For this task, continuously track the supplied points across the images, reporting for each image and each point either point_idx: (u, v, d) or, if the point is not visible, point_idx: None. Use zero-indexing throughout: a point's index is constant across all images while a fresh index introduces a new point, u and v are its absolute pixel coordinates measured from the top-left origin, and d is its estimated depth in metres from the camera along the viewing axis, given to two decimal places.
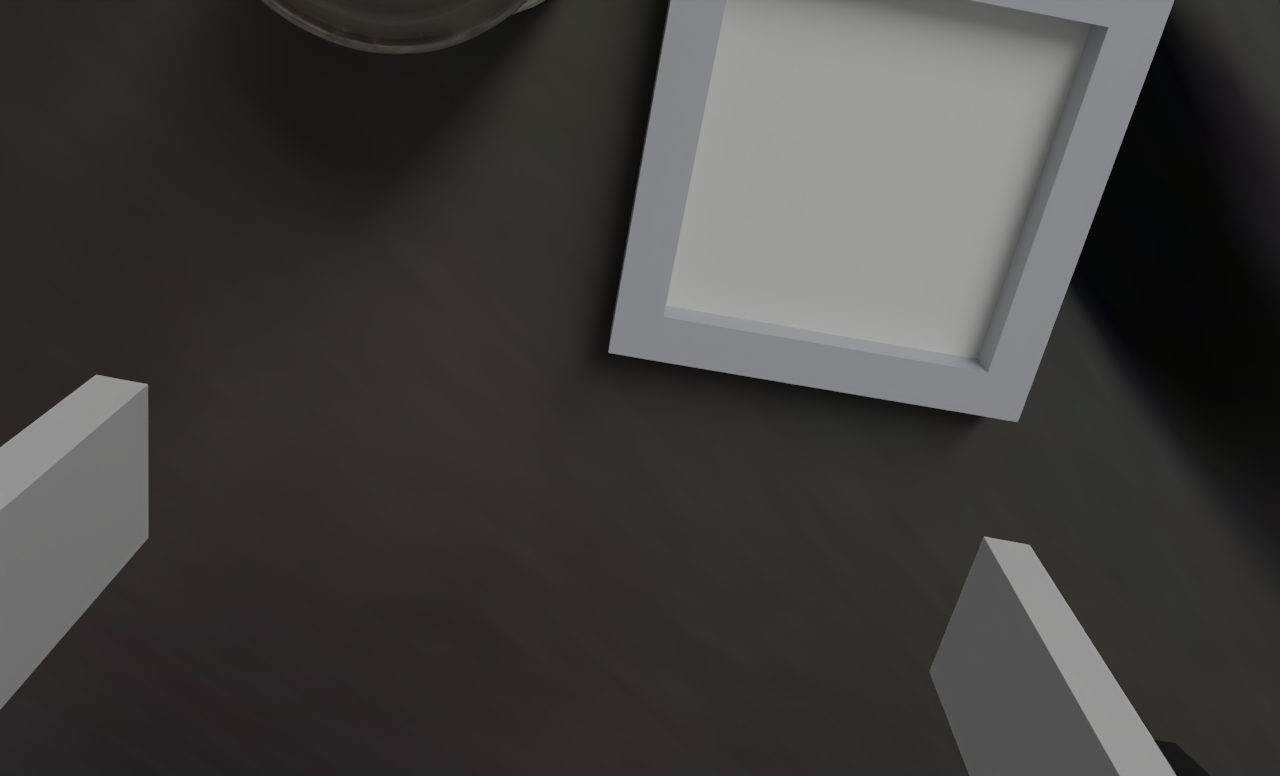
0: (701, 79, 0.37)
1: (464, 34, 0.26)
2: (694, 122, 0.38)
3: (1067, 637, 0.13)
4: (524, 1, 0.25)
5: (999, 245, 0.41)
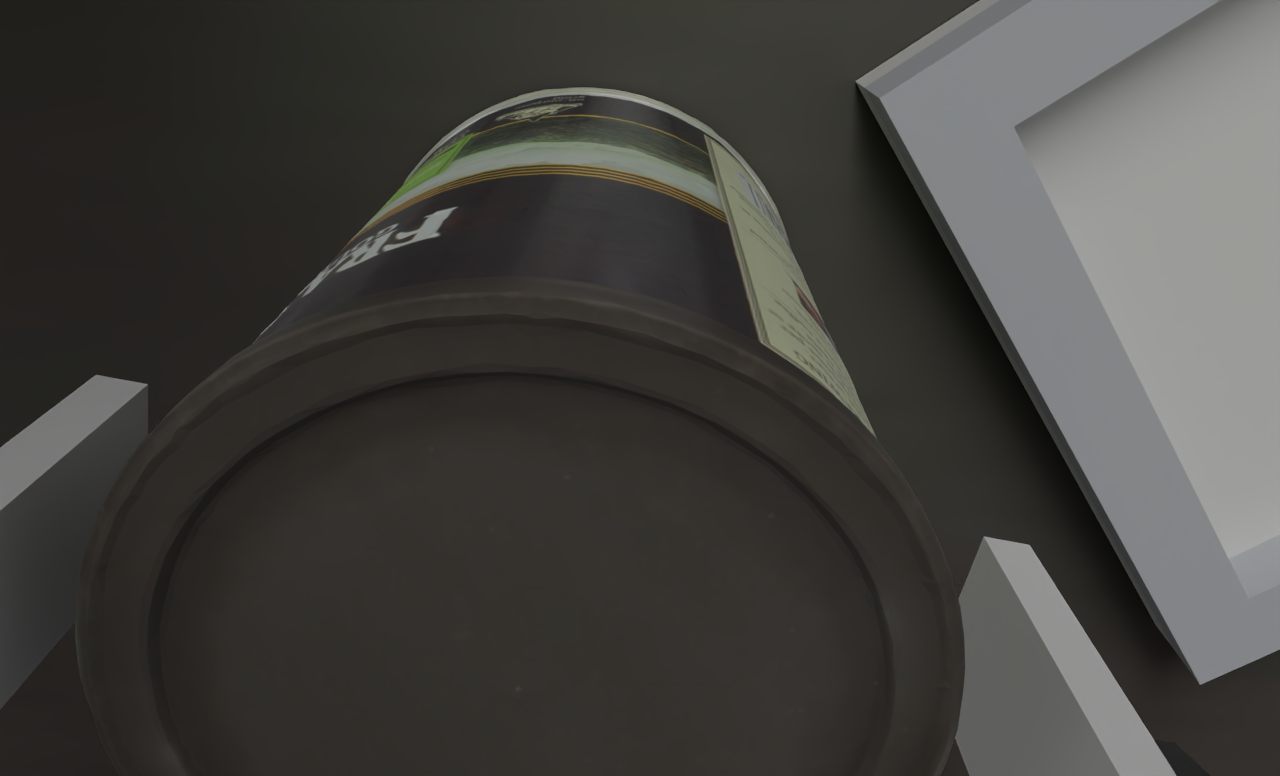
0: (1085, 307, 0.22)
1: None
2: (1115, 363, 0.22)
3: (1067, 637, 0.13)
4: (953, 734, 0.12)
5: None
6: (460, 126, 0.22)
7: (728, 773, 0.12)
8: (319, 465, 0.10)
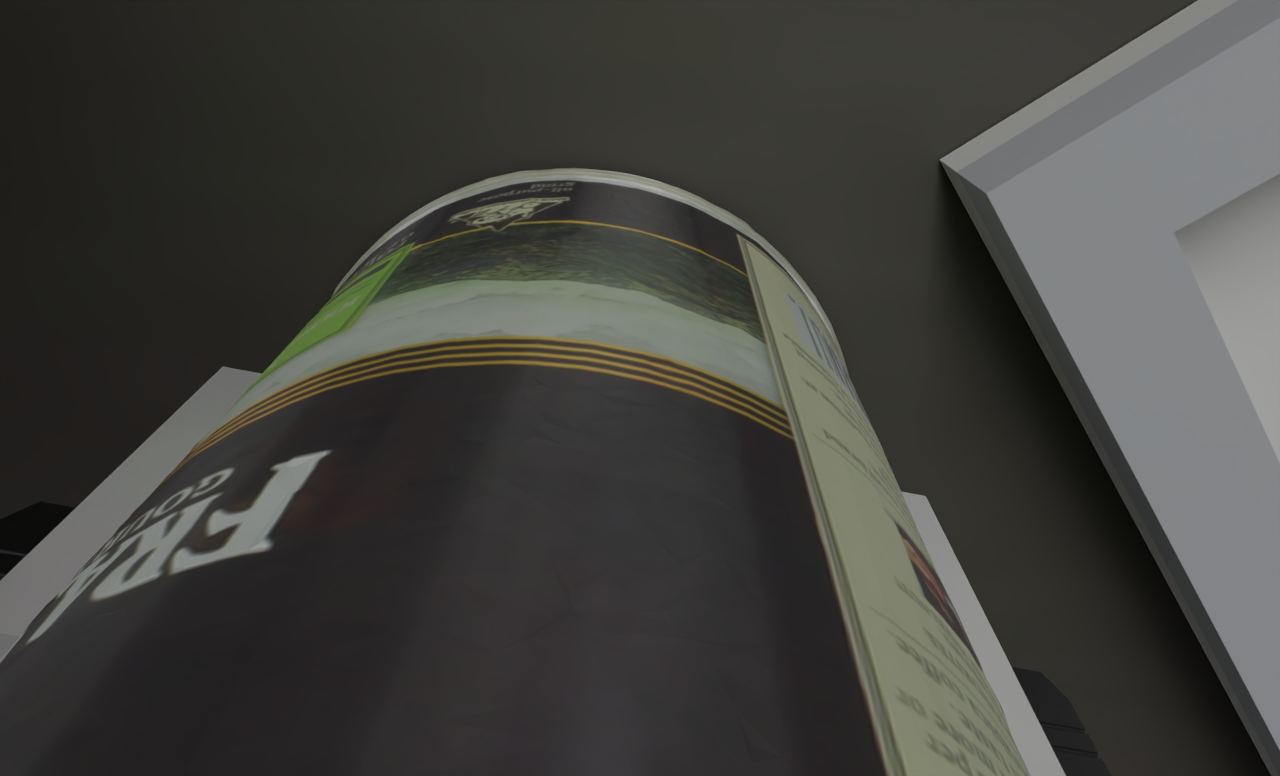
0: (1257, 471, 0.16)
1: None
2: None
3: (945, 575, 0.14)
4: None
5: None
6: (407, 219, 0.16)
7: None
8: None
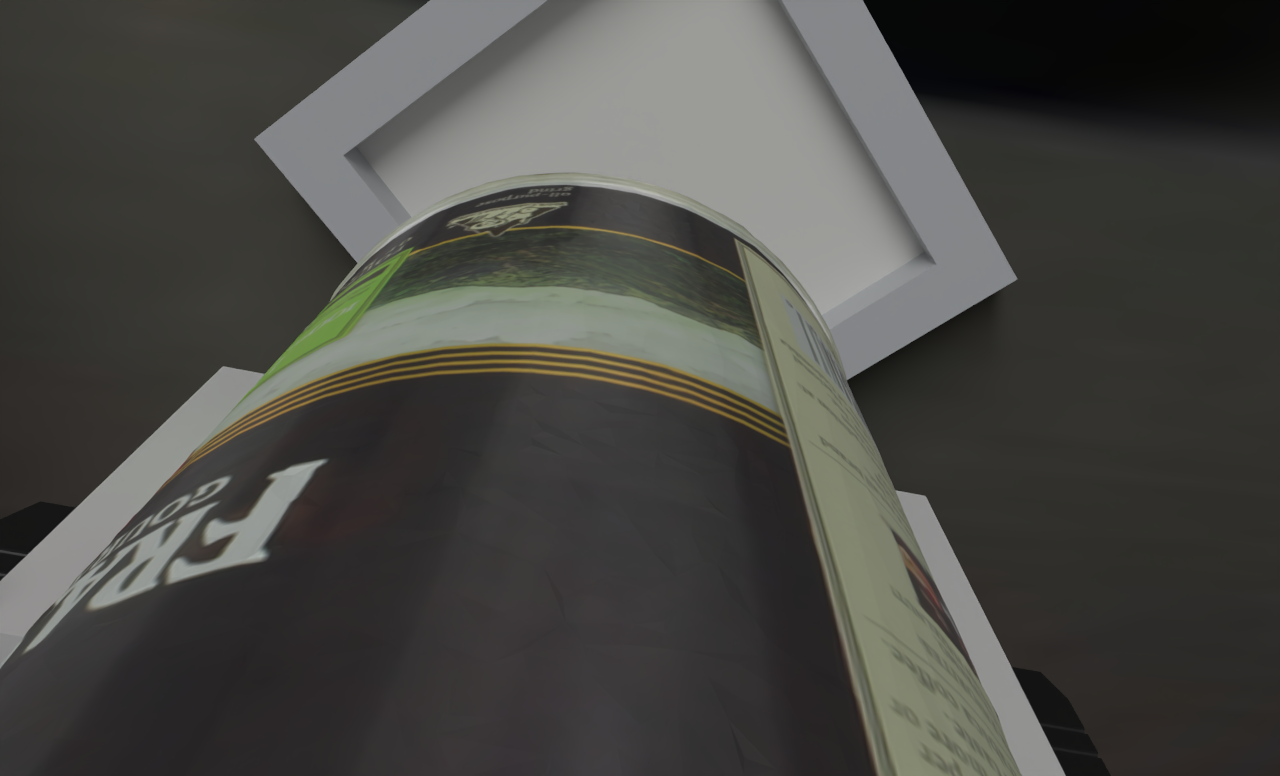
0: None
1: None
2: None
3: (945, 575, 0.14)
4: None
5: (835, 140, 0.33)
6: (406, 224, 0.16)
7: None
8: None
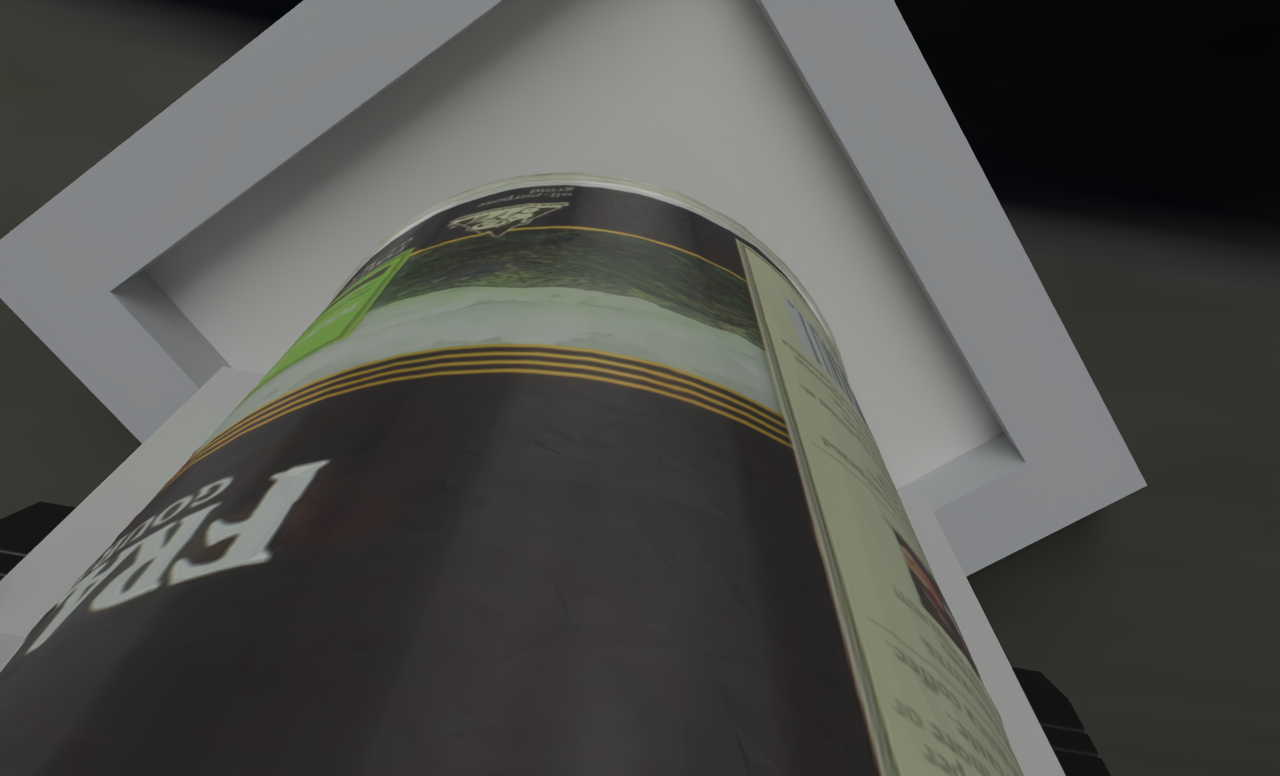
0: None
1: None
2: None
3: (944, 575, 0.14)
4: None
5: (876, 273, 0.21)
6: (407, 224, 0.16)
7: None
8: None
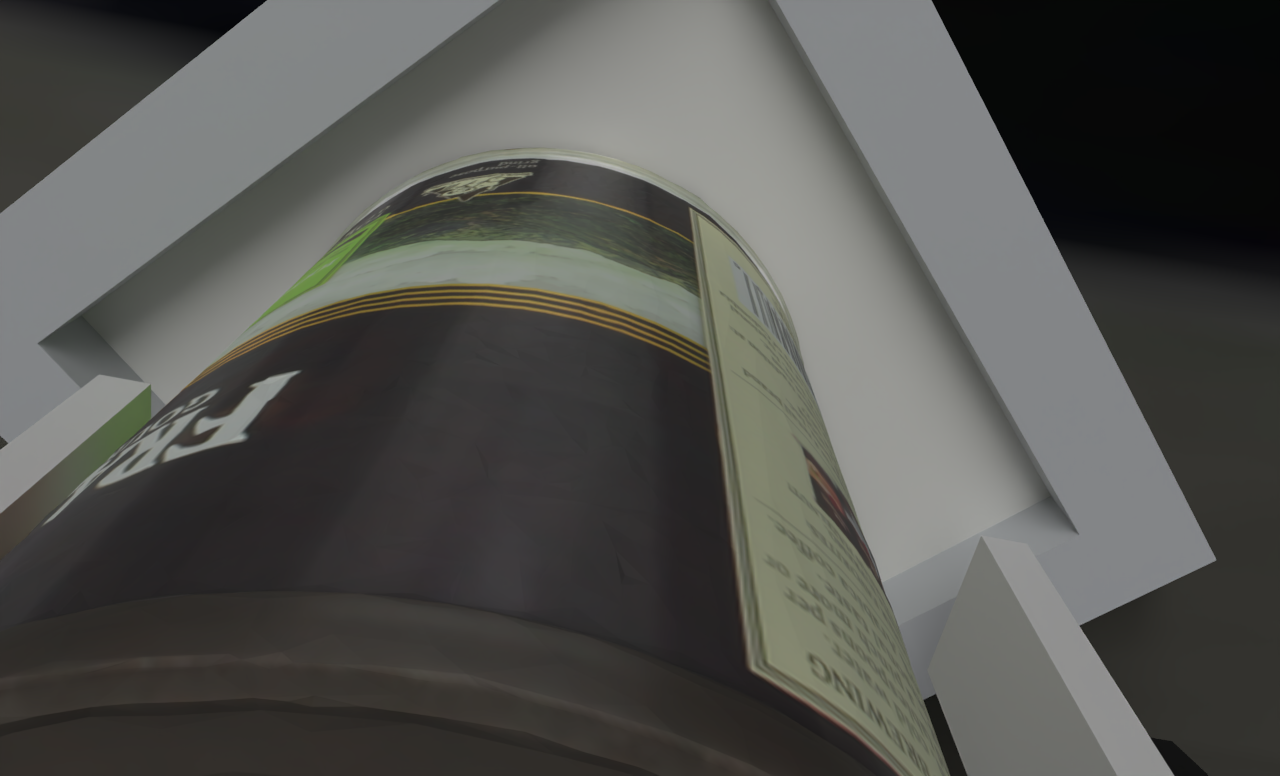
0: None
1: None
2: None
3: (1064, 635, 0.13)
4: None
5: (909, 320, 0.19)
6: (386, 195, 0.18)
7: None
8: None
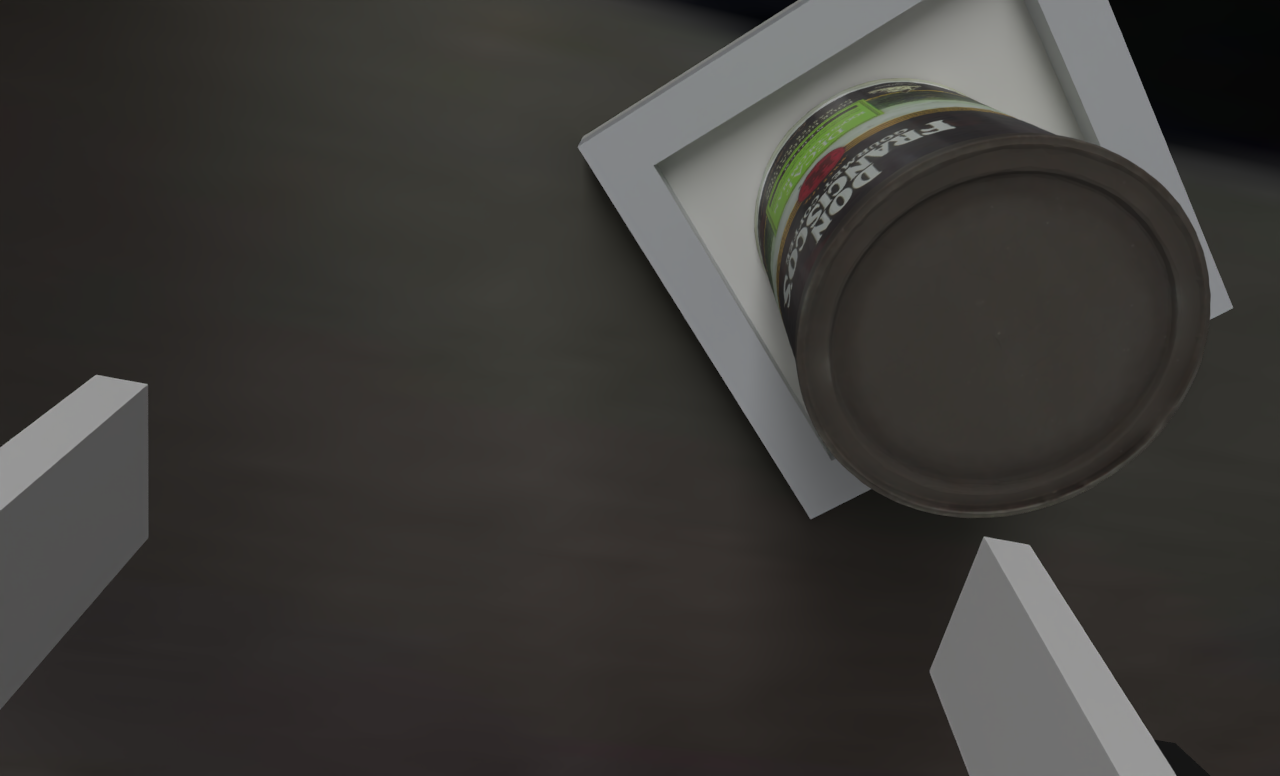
0: (706, 271, 0.37)
1: (1160, 425, 0.26)
2: (728, 305, 0.38)
3: (1067, 637, 0.13)
4: (1198, 365, 0.25)
5: None
6: (829, 99, 0.36)
7: (1086, 385, 0.25)
8: (941, 213, 0.24)
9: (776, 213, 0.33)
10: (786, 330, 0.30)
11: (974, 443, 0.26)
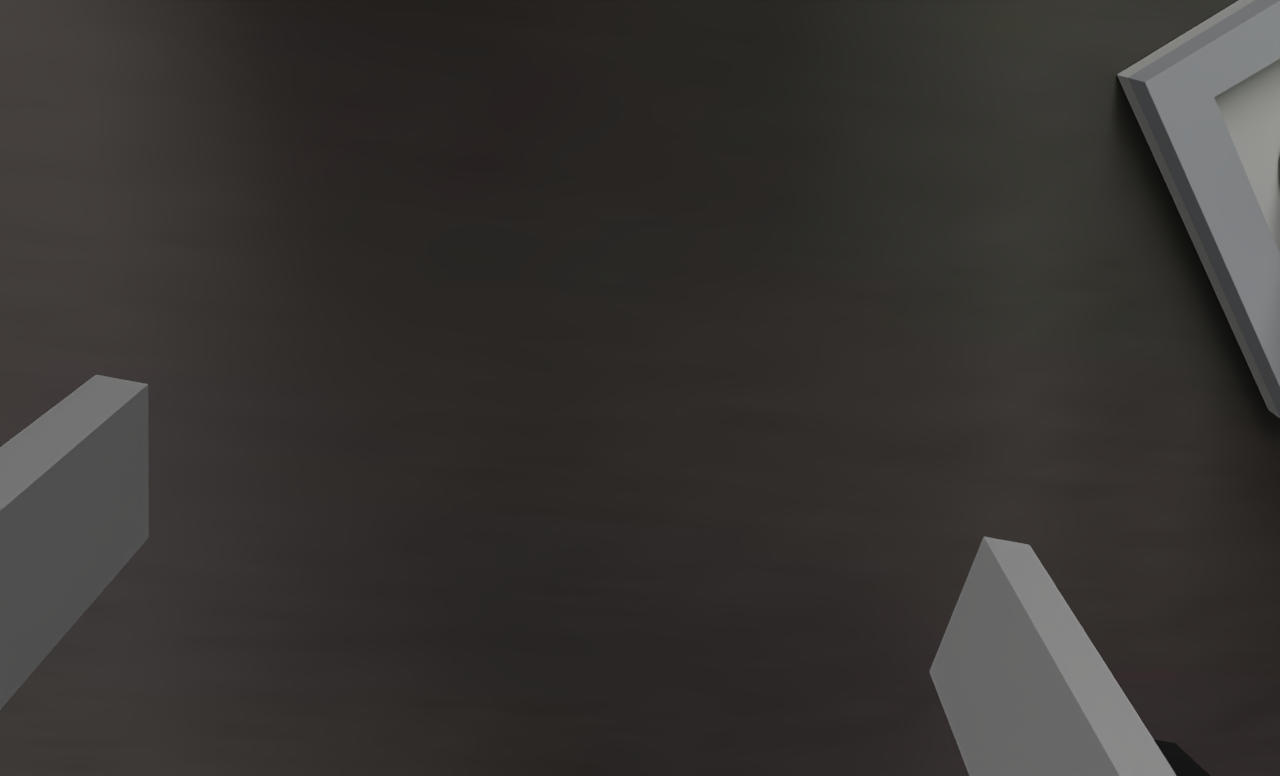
0: (1246, 197, 0.39)
1: None
2: (1260, 229, 0.40)
3: (1067, 637, 0.13)
4: None
5: None
6: None
7: None
8: None
9: None
10: None
11: None
